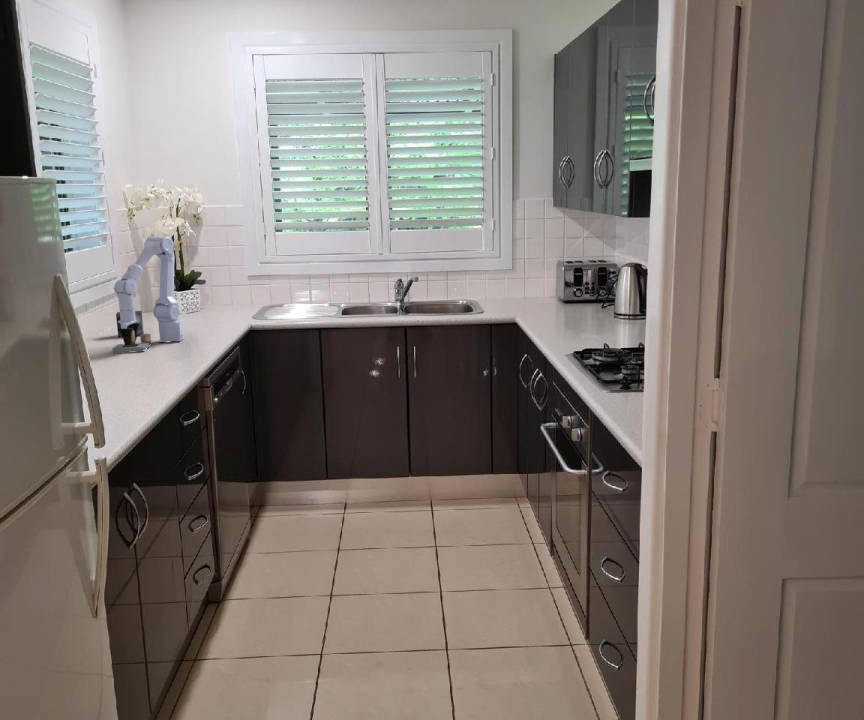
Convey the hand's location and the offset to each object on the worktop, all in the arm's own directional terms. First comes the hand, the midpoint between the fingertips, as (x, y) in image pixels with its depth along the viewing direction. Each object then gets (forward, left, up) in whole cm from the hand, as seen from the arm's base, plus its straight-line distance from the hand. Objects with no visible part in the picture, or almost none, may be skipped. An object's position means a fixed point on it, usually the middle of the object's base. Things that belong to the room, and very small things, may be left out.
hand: (130, 343), depth 329 cm
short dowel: (-4, -9, -3) cm, 11 cm away
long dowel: (0, 0, -3) cm, 3 cm away
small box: (+9, -33, -3) cm, 35 cm away
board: (0, 0, -3) cm, 3 cm away
